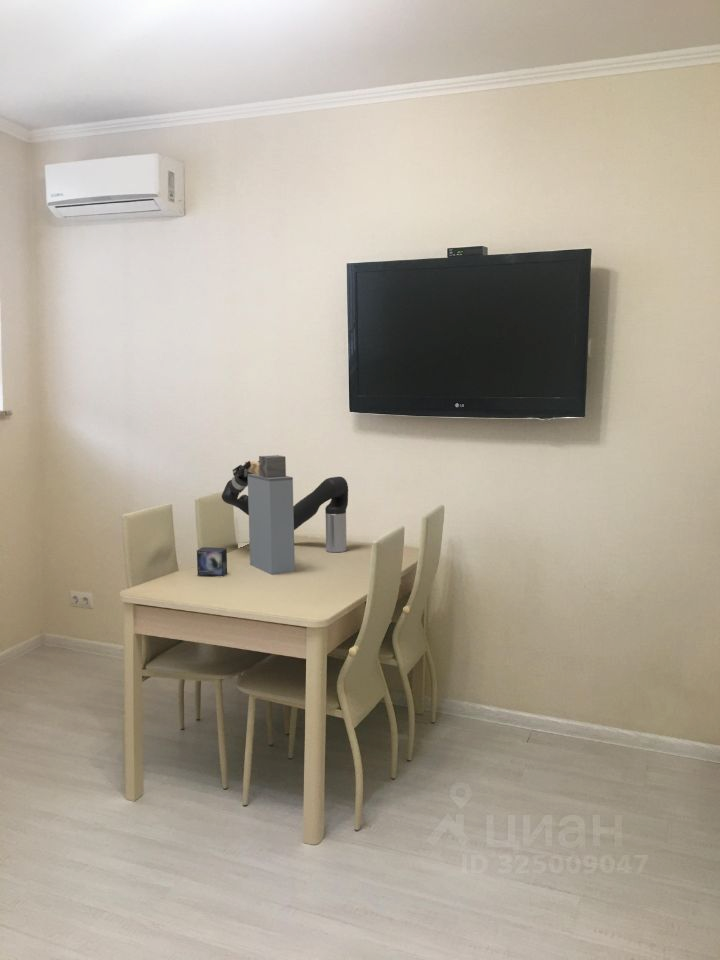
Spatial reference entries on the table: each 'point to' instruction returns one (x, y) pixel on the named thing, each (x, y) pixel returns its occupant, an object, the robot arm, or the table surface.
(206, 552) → the small box
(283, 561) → the stand
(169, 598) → the table surface
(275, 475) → the peg
